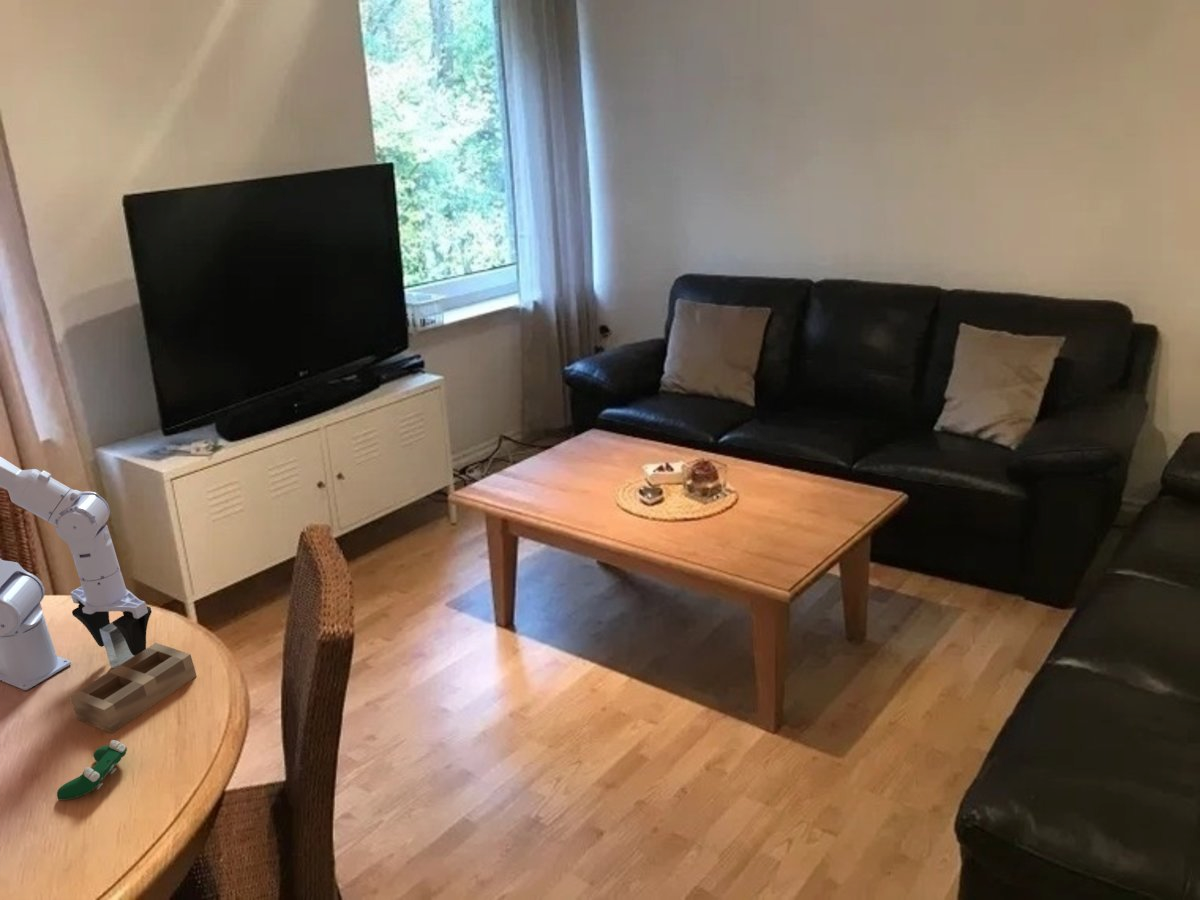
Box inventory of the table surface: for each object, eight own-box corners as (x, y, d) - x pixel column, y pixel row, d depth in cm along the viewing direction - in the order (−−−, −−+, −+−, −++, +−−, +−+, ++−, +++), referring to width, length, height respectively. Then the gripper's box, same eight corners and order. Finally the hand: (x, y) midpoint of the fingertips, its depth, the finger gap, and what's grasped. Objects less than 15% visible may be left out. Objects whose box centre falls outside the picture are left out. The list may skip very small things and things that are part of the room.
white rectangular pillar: (111, 667, 166) (99, 629, 163) (141, 649, 170) (130, 611, 167) (120, 671, 164) (109, 632, 162) (150, 652, 169) (140, 614, 166)
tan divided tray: (76, 719, 153) (69, 696, 152) (162, 664, 165) (156, 642, 164) (111, 733, 150) (104, 710, 148) (196, 676, 161) (190, 654, 160)
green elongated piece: (75, 814, 137) (95, 791, 135) (51, 796, 137) (71, 772, 134) (118, 768, 145) (138, 745, 143) (95, 750, 145) (115, 727, 142)
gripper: (45, 576, 160) (69, 652, 165) (110, 592, 154) (134, 670, 159) (84, 555, 166) (106, 629, 171) (148, 569, 160) (170, 645, 165)
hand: (122, 647), depth 166 cm, fingers open, 7 cm apart
